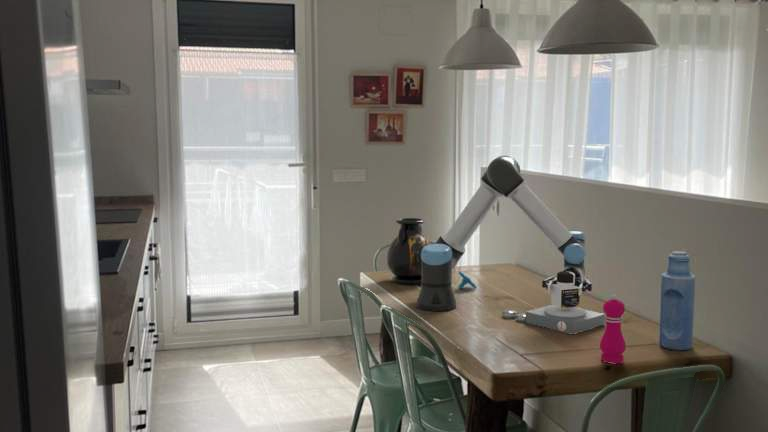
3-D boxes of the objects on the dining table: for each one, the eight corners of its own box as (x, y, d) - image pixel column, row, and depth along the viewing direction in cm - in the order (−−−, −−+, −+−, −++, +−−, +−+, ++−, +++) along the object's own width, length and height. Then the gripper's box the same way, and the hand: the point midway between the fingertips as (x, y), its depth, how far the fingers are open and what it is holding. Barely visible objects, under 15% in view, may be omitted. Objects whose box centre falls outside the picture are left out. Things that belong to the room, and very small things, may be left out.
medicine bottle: (561, 309, 242) (561, 274, 240) (550, 304, 249) (551, 270, 247) (579, 307, 244) (580, 273, 242) (569, 302, 250) (569, 269, 249)
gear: (480, 287, 297) (463, 271, 296) (470, 297, 296) (453, 281, 296) (474, 285, 308) (458, 269, 307) (465, 295, 307) (449, 279, 307)
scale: (572, 335, 233) (572, 320, 233) (524, 322, 249) (524, 309, 248) (604, 325, 245) (605, 311, 244) (557, 313, 260) (557, 300, 260)
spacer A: (510, 319, 254) (510, 314, 253) (499, 317, 257) (499, 311, 257) (519, 317, 257) (519, 311, 257) (508, 314, 261) (508, 309, 260)
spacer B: (524, 323, 249) (525, 318, 248) (513, 320, 252) (513, 315, 252) (533, 320, 252) (533, 315, 252) (522, 318, 256) (522, 312, 255)
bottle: (696, 345, 221) (701, 251, 218) (685, 353, 214) (690, 255, 210) (665, 339, 228) (669, 248, 224) (654, 347, 220) (658, 252, 217)
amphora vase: (420, 288, 302) (420, 224, 299) (377, 283, 313) (377, 221, 309) (442, 279, 321) (442, 218, 317) (400, 274, 331) (400, 215, 328)
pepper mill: (594, 360, 208) (596, 294, 205) (606, 355, 213) (609, 290, 210) (617, 366, 203) (620, 298, 200) (629, 360, 208) (632, 294, 205)
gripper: (602, 289, 258) (597, 303, 238) (540, 285, 266) (531, 298, 246) (602, 269, 258) (598, 281, 237) (540, 265, 265) (531, 277, 245)
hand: (564, 290), depth 241 cm, fingers closed on medicine bottle, 10 cm apart
